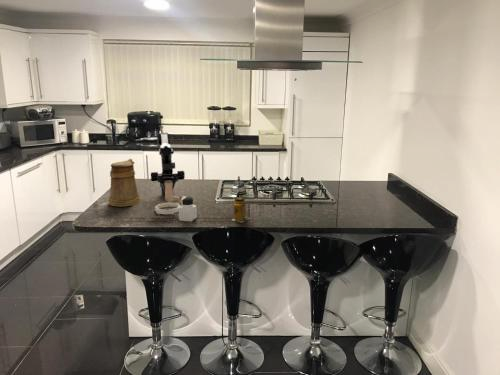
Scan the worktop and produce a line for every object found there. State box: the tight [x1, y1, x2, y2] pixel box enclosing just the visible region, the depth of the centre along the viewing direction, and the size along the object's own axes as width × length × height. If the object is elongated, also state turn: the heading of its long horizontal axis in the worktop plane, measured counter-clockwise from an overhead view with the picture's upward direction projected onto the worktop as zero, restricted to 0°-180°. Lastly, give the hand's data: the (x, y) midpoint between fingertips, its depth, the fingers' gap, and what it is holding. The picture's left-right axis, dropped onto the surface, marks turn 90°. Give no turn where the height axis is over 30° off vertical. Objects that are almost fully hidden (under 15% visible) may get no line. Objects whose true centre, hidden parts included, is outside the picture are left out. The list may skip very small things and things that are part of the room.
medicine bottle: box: [178, 196, 198, 223], centre depth 228 cm, size 7×7×12 cm
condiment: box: [231, 196, 252, 223], centre depth 227 cm, size 7×8×12 cm
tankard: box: [108, 158, 141, 208], centre depth 257 cm, size 18×24×25 cm
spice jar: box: [164, 180, 174, 202], centre depth 239 cm, size 4×4×11 cm
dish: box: [154, 201, 182, 215], centre depth 242 cm, size 13×13×3 cm
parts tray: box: [167, 195, 183, 205], centre depth 258 cm, size 10×8×3 cm
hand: (168, 188), depth 238 cm, fingers closed on spice jar, 4 cm apart
